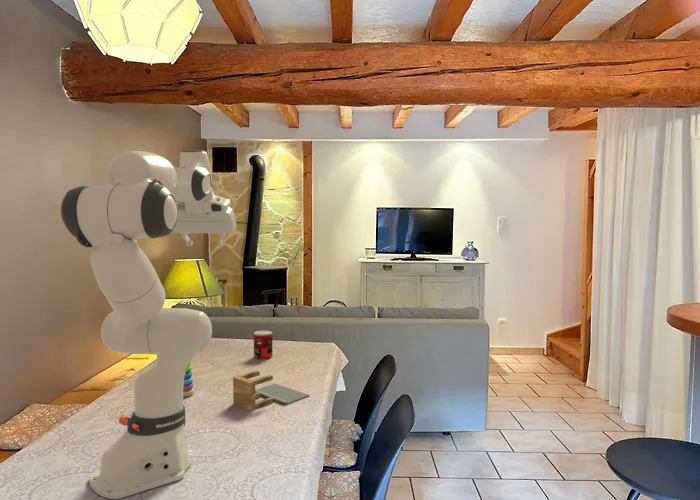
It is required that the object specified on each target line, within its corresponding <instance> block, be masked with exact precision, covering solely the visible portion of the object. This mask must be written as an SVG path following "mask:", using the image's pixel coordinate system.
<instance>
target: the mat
mask: <svg viewBox="0 0 700 500" xmlns="http://www.w3.org/2000/svg"><path fill="white" fill-rule="evenodd" d="M257 392H258V393H260V397H262V398H265V399H267V398H270V397H271V398H273V402H275V403H278V404H281V405H284V406H287V405H289V404H292V403H294V402H295V403H296V402H298V401H300V400H303V399H306V398H309V397H310V396H311V395H310V394H307V393H304V392H302V391H298V390H295V389H293V388H290V387H287V386H284V385H281V384H278V383H273V384H269V385H266V386H263V387H260V388H255V393H257Z"/></svg>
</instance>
